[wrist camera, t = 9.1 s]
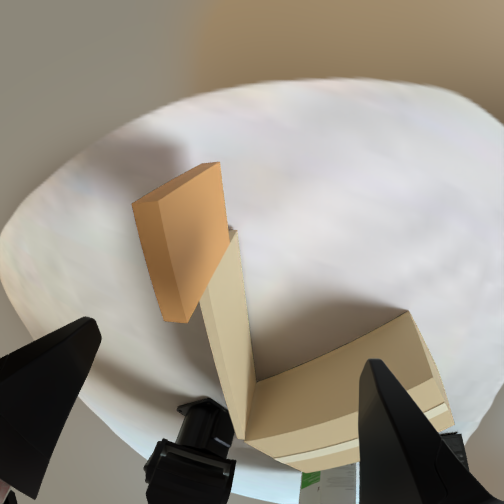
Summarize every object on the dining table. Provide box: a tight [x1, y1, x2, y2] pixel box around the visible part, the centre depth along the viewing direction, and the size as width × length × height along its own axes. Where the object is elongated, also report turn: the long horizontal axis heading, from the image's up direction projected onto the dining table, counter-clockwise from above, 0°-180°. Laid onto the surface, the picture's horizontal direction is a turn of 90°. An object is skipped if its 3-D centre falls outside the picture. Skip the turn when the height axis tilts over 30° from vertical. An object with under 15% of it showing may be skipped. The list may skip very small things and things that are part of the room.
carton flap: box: [132, 162, 257, 440], centre depth 17 cm, size 21×1×10 cm, turn 5°
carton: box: [244, 311, 455, 473], centre depth 21 cm, size 16×10×7 cm, turn 130°
